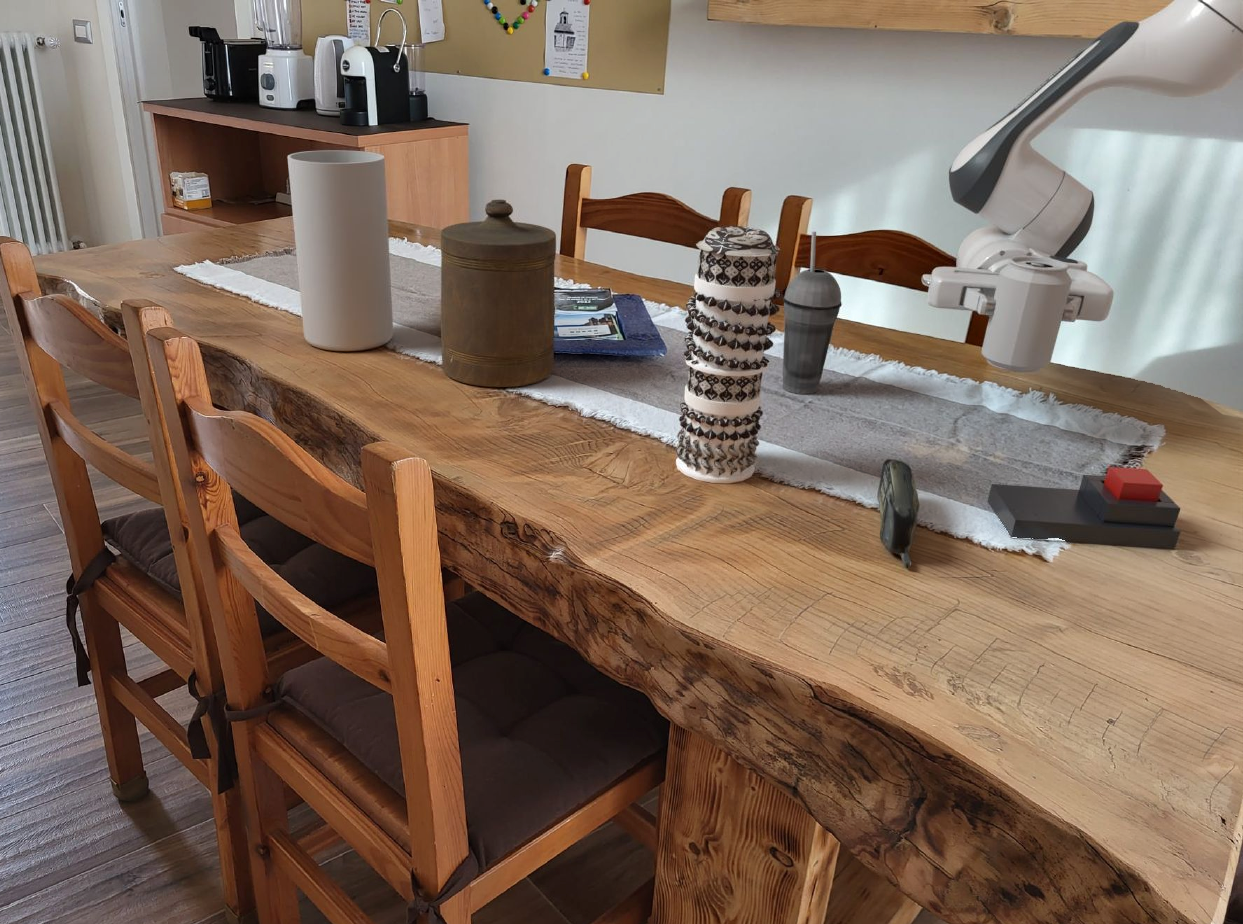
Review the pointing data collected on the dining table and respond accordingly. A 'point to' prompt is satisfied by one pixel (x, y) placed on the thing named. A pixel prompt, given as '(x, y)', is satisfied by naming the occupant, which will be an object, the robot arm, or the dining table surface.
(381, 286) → the cylinder vase
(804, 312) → the beverage cup
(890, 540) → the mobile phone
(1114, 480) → the red rectangular button
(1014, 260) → the can
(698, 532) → the dining table surface
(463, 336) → the wooden container
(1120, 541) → the dark grey stepped block
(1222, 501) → the dining table surface
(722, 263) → the decorative candle
